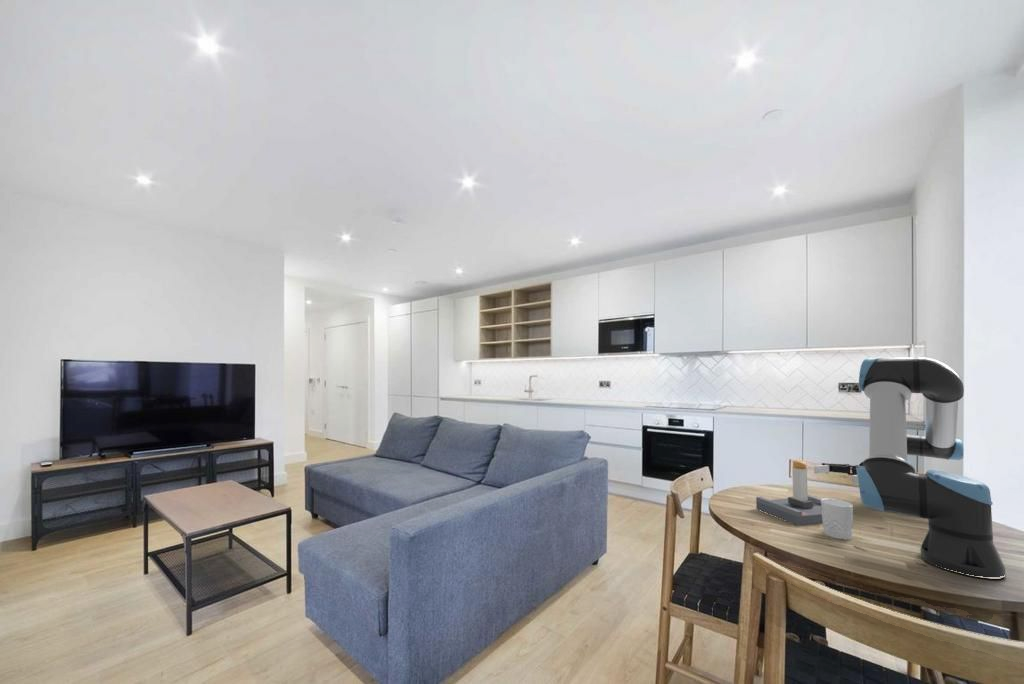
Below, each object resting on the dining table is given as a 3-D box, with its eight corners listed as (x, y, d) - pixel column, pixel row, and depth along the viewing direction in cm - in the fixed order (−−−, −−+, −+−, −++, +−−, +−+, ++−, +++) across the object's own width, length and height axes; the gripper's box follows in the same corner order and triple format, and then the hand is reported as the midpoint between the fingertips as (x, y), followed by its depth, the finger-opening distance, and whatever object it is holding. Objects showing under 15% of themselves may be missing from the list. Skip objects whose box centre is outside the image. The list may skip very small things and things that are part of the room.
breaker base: (847, 520, 142) (847, 506, 142) (797, 525, 136) (797, 511, 136) (803, 505, 157) (803, 493, 157) (756, 509, 151) (756, 496, 151)
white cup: (859, 538, 126) (858, 505, 127) (843, 542, 123) (842, 507, 124) (831, 529, 133) (830, 497, 134) (815, 532, 131) (814, 499, 131)
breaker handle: (813, 507, 144) (812, 463, 145) (804, 508, 143) (803, 464, 144) (796, 502, 150) (796, 459, 151) (788, 502, 149) (787, 460, 150)
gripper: (915, 490, 145) (871, 495, 139) (841, 472, 169) (801, 475, 163) (914, 468, 146) (870, 472, 140) (841, 453, 170) (800, 456, 164)
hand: (833, 474), depth 152 cm, fingers open, 13 cm apart
